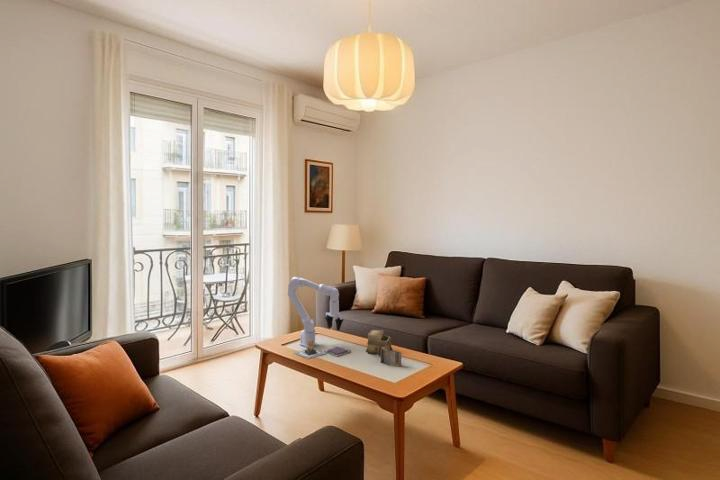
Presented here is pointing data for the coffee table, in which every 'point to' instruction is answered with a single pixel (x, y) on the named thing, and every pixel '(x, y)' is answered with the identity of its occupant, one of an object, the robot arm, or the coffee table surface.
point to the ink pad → (337, 351)
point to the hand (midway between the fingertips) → (334, 328)
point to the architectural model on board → (390, 357)
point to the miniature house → (378, 342)
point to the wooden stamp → (310, 348)
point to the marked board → (303, 354)
